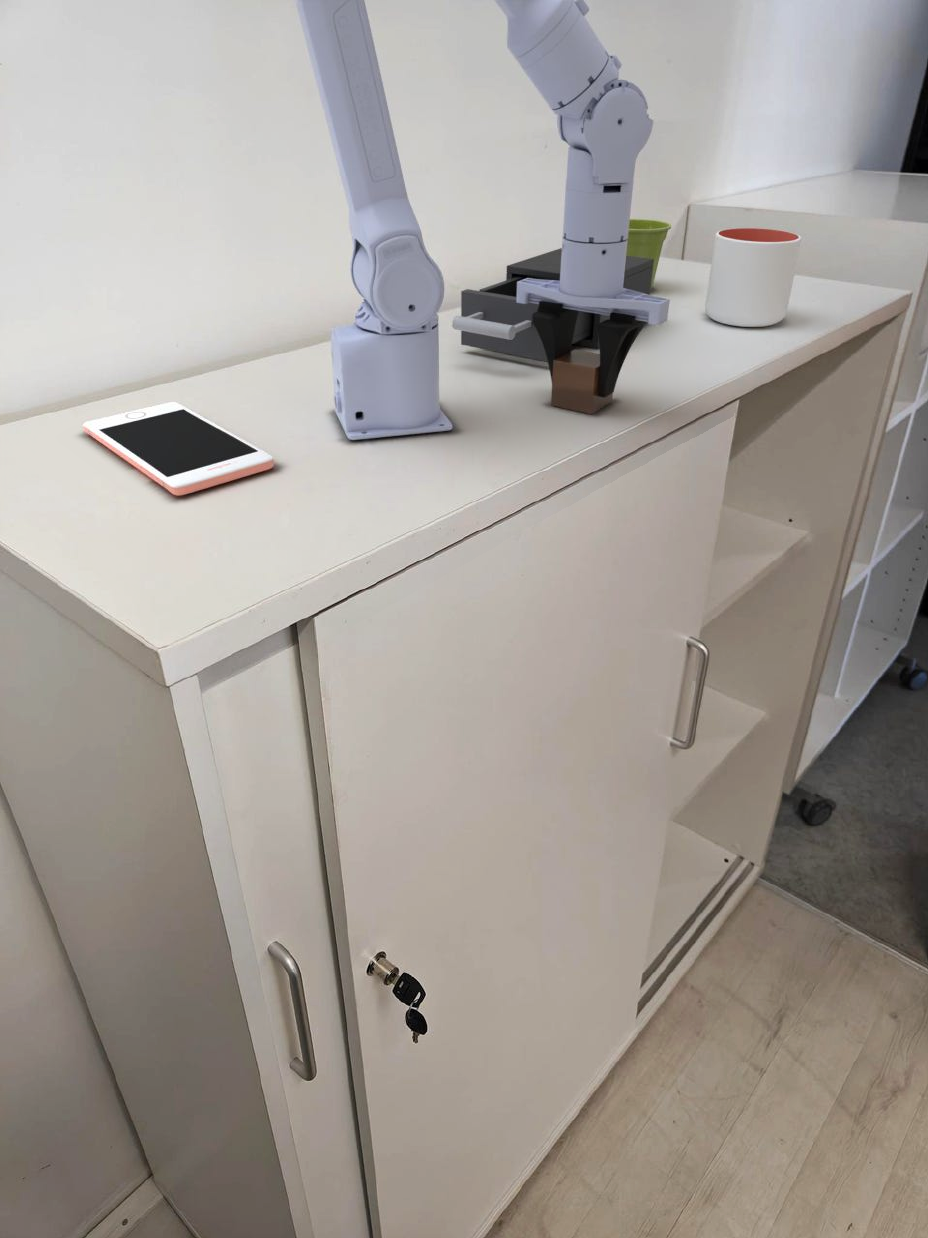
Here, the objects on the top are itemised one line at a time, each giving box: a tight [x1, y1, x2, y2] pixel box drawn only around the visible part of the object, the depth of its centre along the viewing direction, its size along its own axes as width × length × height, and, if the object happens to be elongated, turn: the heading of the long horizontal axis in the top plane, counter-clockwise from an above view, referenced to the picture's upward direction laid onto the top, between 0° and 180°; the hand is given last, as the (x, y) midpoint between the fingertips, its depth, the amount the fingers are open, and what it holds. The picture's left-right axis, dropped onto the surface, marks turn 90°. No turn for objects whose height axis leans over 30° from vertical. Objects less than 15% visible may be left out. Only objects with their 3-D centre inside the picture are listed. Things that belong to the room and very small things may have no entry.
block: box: [550, 349, 614, 415], centre depth 85 cm, size 4×4×4 cm
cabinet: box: [505, 247, 654, 350], centre depth 107 cm, size 14×13×8 cm
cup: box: [704, 227, 802, 328], centre depth 110 cm, size 10×10×10 cm
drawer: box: [452, 275, 595, 363], centre depth 98 cm, size 17×11×6 cm, turn 146°
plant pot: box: [626, 218, 672, 290], centre depth 124 cm, size 9×9×9 cm
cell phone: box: [83, 401, 275, 496], centre depth 75 cm, size 9×18×1 cm, turn 41°
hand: (583, 389), depth 85 cm, fingers closed on block, 4 cm apart
